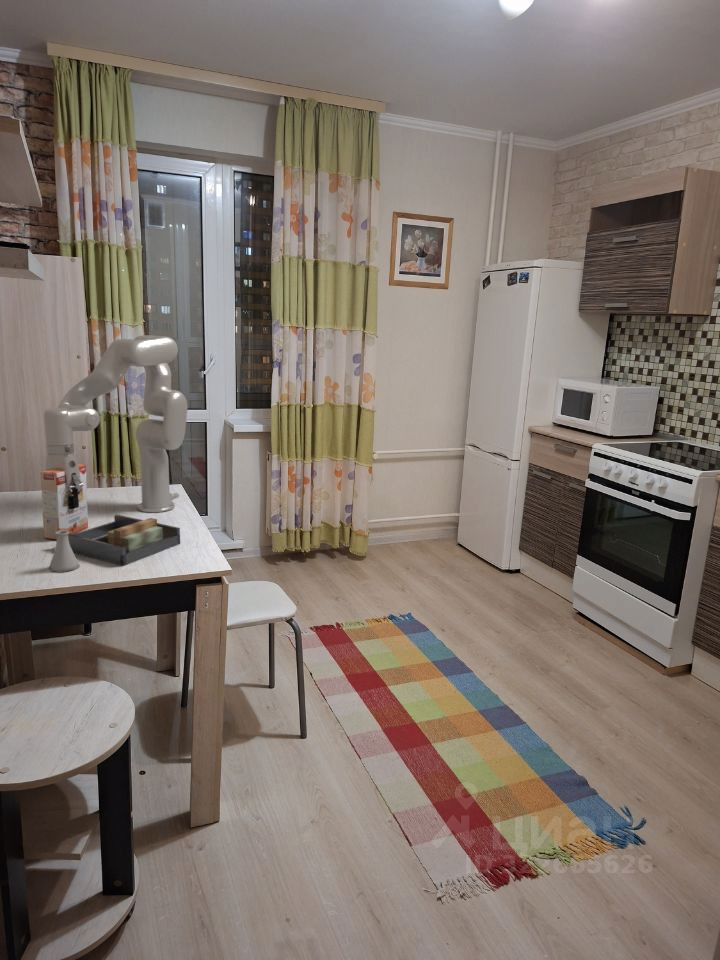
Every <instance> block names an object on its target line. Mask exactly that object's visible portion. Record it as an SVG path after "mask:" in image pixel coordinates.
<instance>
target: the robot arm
mask: <svg viewBox="0 0 720 960" xmlns="http://www.w3.org/2000/svg"><path fill="white" fill-rule="evenodd" d="M178 353H179V347H178V345H177V342H176V340H174V339H173V338H172V337H171V336H170V337H169V336H164V335H150V334H149V335H145V334H144V335H138V336H135V338H134V339H130V338H129V339H128V338H127V339H126V338H119V339H115V340H113V341H112V342H111V343H110V344H109V346H108V347H107V348H106V350H105V352H104V354H103V355H102V356H101V358H100V360H99V361H98V362H97V364H96V365H95V367H94V369H93V370H92V372H91V373H90V374H88V375H87V376H86V377H84V378H83V379H82V380H81V381H79V382H78V383H77V384H75V385H74V386H73V387H71V388H70V389H69V390H68V391H67V393H66V394H65V395H64V396H63V398H62V400H61V401H60V403H59V405H58V407H54V408H53V407H52V408H47V409H45V410H44V411H43V422H44V423H43V425H44V435H45V448H46V458H45V470H48V469H58V470H62V471H65V472H66V473H65V477H66V487H67V488H68V493H69V495H70V496H68V503H69V509H74V508H78V507H79V500H78V495H79V494H80V491H81V489H82V487H83V483H82V482H81V480H80V471H79V465H78V464H79V461H78V458H77V455H76V454H75V444H74V432H89V431H90V432H91V431H92V430H95V429H96V428H97V427H98V425H99V424H100V422H101V417H100V414H99V412H98V411H97V410H96V409H95V408H93V407H89V406H87V404H89V403H90V402H91V401H93V400H95V399H96V398H98V397H100V396H103V395H106V394H109V393H111V392H113V391H115V390H116V389H117V388H118V386H119V384H120V383H121V381H122V380H123V379H124V377H125V375H126V373H127V372H128V370H129V369H130V367H136V368H137V367H138V368H139V367H141V368H143V369H144V371H145V382H144V392H143V402H142V403H143V404H142V405H143V410H144V411H145V413H147V414H149V415H151V416H156V417H162V418H163V419H162V420H158V419H154V418H153V419H152V418H150V419H149V418H148V419H144V420H142V421H141V422H139V424H137V427H135V428H136V429H135V440H136V442H137V447H138V452H139V454H138V455H139V464H140V467H139V469H140V470H139V471H140V487H141V490H140V491H141V502H140V503H139V504H137V510H138V511H140V512H144V513H162V512H168V511H171V510H173V509H174V508H175V504H176V503H174V502H173V500H175V499H178V498H179V496H180V494H179V493H178V492H175V493H171V492H170V467H169V463H170V462H169V455H168V453H167V450H168V451H169V450H170V451H174V450H177V449H179V448H180V447H181V446H182V445H183V441H184V439H185V434H186V429H187V428H186V424H187V416H188V415H187V414H188V400H187V398H186V396H185V395H184V393H182V391H179V390H177V389H176V390H175V389H172V372H171V368H170V366H169V363H170V362H172V361H174V360H175V359H176V357H177V355H178ZM71 481H73V485H72V486H70V483H71ZM71 488H73V489H74V490H73V491H72V490H71Z"/></svg>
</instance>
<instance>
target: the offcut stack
mask: <svg viewBox="0 0 720 960" xmlns="http://www.w3.org/2000/svg"><path fill="white" fill-rule="evenodd" d="M142 520H143V521H139V522H136V523H133V524H130V525H127V526H124V527H121V528H118V529H115V530H112V531H108V532H107V534H106V535H108V543H109V544H113V545H118V546H122V547H125V550H126V552H129V551H132V550H135V549H137V548H140V547H143V546H145V545H148V544H151V543H154V542H156V541H159V540H162V539H163V531H162V527H158V526H157V523H158V519H157V518H152V517H150V518H146V519H142Z"/></svg>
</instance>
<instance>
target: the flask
mask: <svg viewBox="0 0 720 960" xmlns="http://www.w3.org/2000/svg"><path fill="white" fill-rule="evenodd" d="M55 534H56V535H57V540H56V544H55V548H54V552H53V555H52V558H51V561H50V564H49V567H48V568H49V569H50V570H51V571H52V572H59V573H64V572H68V571H74V570H75V569H78V568H79V567H81V565H80V563H79V561H78V559H77V557H76V556H75V555H76V554H75V553H73V551H72V549H71V547H70V544H69V540H68V534H69V532H68V531H65V530H62V531H57V532H55Z"/></svg>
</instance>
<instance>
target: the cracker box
mask: <svg viewBox="0 0 720 960" xmlns="http://www.w3.org/2000/svg"><path fill="white" fill-rule="evenodd" d="M78 465H79V471H80V480H81V482H82V483H83V487H82V489H81V491H80V494H79V495H78V500H79V507H78V508H74V509H69V503H68V496H70V495H69V493H68V488H67V487H66V477H65V473H66V472H65V471H62V470H58V469H48V470H46V469H45V470H42V471H40V480H41V481H40V485H41V488H40V489H41V501H42V502H41V504H42V506H41V507H42V522H43V523H42V525H43V538H44V539H49V540H55V541H57V535H56V534H55V532H57V531H62V530H65V531H68V532H69V534H75V533H78V532H82V531H85V530H87V529H89V520H88V519H89V518H88V515H89V513H88V493H87V492H88V489H87V465H86V464H82V463H78ZM72 485H73V481H71V483H70V486H72ZM71 490H72V491H73V490H74V489H73V488H71Z"/></svg>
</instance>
